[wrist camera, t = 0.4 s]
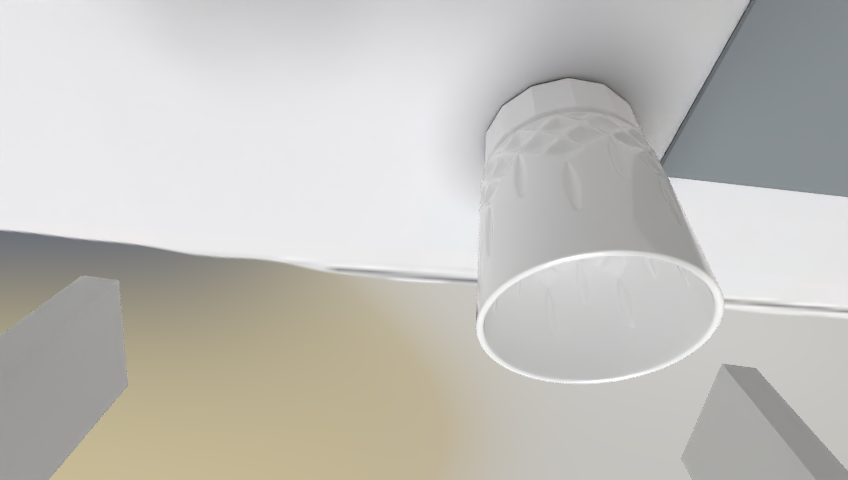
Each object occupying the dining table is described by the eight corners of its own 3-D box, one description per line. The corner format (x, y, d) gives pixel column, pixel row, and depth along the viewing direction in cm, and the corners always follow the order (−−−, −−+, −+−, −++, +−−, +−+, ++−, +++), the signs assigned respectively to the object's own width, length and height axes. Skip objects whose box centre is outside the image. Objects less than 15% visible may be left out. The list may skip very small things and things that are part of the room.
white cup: (687, 127, 24) (777, 318, 17) (557, 225, 29) (587, 403, 22) (558, 26, 21) (607, 211, 14) (437, 155, 26) (429, 338, 19)
